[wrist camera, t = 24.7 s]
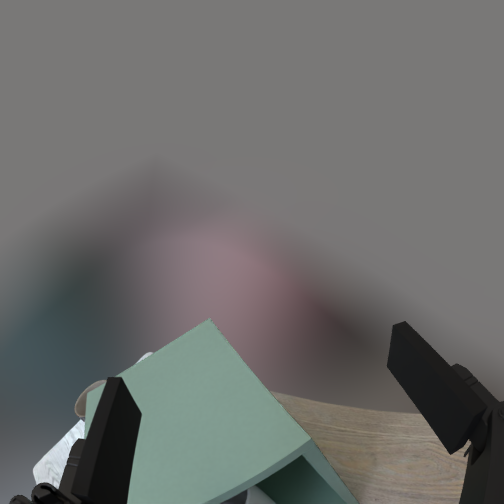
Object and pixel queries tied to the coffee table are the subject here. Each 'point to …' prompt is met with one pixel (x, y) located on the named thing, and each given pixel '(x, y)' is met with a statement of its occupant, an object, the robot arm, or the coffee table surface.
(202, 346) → the box
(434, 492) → the coffee table surface
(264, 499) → the drinking glass
